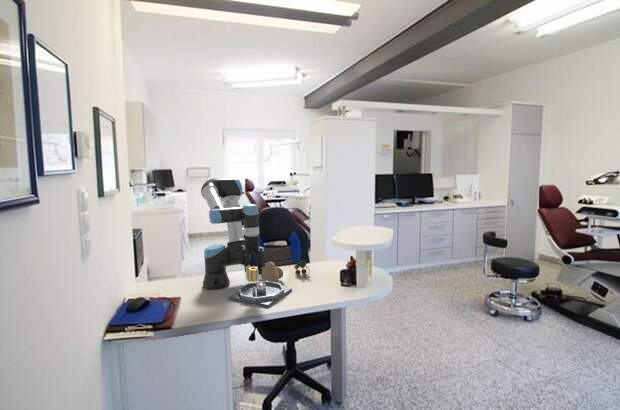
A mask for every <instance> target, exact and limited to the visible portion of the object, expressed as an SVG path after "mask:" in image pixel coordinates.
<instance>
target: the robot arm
mask: <svg viewBox="0 0 620 410" xmlns="http://www.w3.org/2000/svg"><path fill="white" fill-rule="evenodd" d="M200 194H201V196H202V198H203V199H204V200H205V201H206V203H207V205H208V207H209V211H208V212H209V213H208V218H209V222H210V224H215V225H216V224H217V225H218V224H225V223H226V225H227V234H228V242H226V245H225V244H223V243H215V244H212V245H209V246H207V247H206V248H204V251H203V253H204V254H203V255H204V256H203V258H204V271H205V272H204V273H205V274H204V277H203V281H202V288H204V289H206V290H221V289H224V288H227V287H228V286H229V285H230V284H231V283H230V280H231V279H230V278H229V275H228V272H227V267H230V266H237V265H241V266H244V272H245V278H246V280H247V268H249V267H251V265H250V262H251V261H250V260H251V256H252V255H253V257H254V259H255V262H256V263H255V264H256V265H257V266H256V267H258V268H256V269H257V281H256V282H260V281H261V280H262V278H261V274H262V267H264V266H265V264H266V257H265V249H266V248H265V247H263V246H261V245H260V220H259V206H258V204H255V203H249V204H248V203H247V204H244V205H241V206H240V202H239V200H240V199H241V196H243V186H242V183H241V180H240V179H239V178H237V177H217V178H215V177H213V178H210V179H208V180H206V181H205V182H204V183H203V184H202V185H201V188H200ZM242 222H243V224H242ZM243 230H244V231H243Z"/></svg>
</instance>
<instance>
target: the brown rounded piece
mask: <svg viewBox="0 0 620 410" xmlns="http://www.w3.org/2000/svg"><path fill="white" fill-rule="evenodd" d="M283 277H284V272H283V269H282V268H280V267H278V266H276V264H275V263H274V262H272V261H268V262H265V266H264V267H262V274H261V280H262V281H271V282H277V283H278V282H279V280H281V279H282V278H283Z"/></svg>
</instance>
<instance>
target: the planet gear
mask: <svg viewBox="0 0 620 410" xmlns="http://www.w3.org/2000/svg"><path fill="white" fill-rule="evenodd" d="M256 268H258V266H250V267H249V268H247V279H246V280H247V281H248V282H249V283H252V282H258V281H257V269H256Z"/></svg>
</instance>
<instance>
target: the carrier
mask: <svg viewBox="0 0 620 410" xmlns="http://www.w3.org/2000/svg"><path fill="white" fill-rule="evenodd" d="M292 291H293V287H289V286H283V285H282V284H281V283H280V282H278V281H277V282H271V281H265V280H262V281H261V280H259V281H255V282H253V281H252V282H248V283H246V284H244V285H243V286H240V287H239V288H238V291H237V292H235V293H234V294H232V295H229V296H228V299H229V301H233V300H234V301H233V302H238V301H239V302H238V303H243V302H244V303H243V304H248V303H249V305H252V304H253V306H257V305H258V307H263V308H270V307H272V305H274V304H276V303H277V302H279V300H282V298H284V297H286V296H287V295H288V294H289V293H291V292H292Z"/></svg>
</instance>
